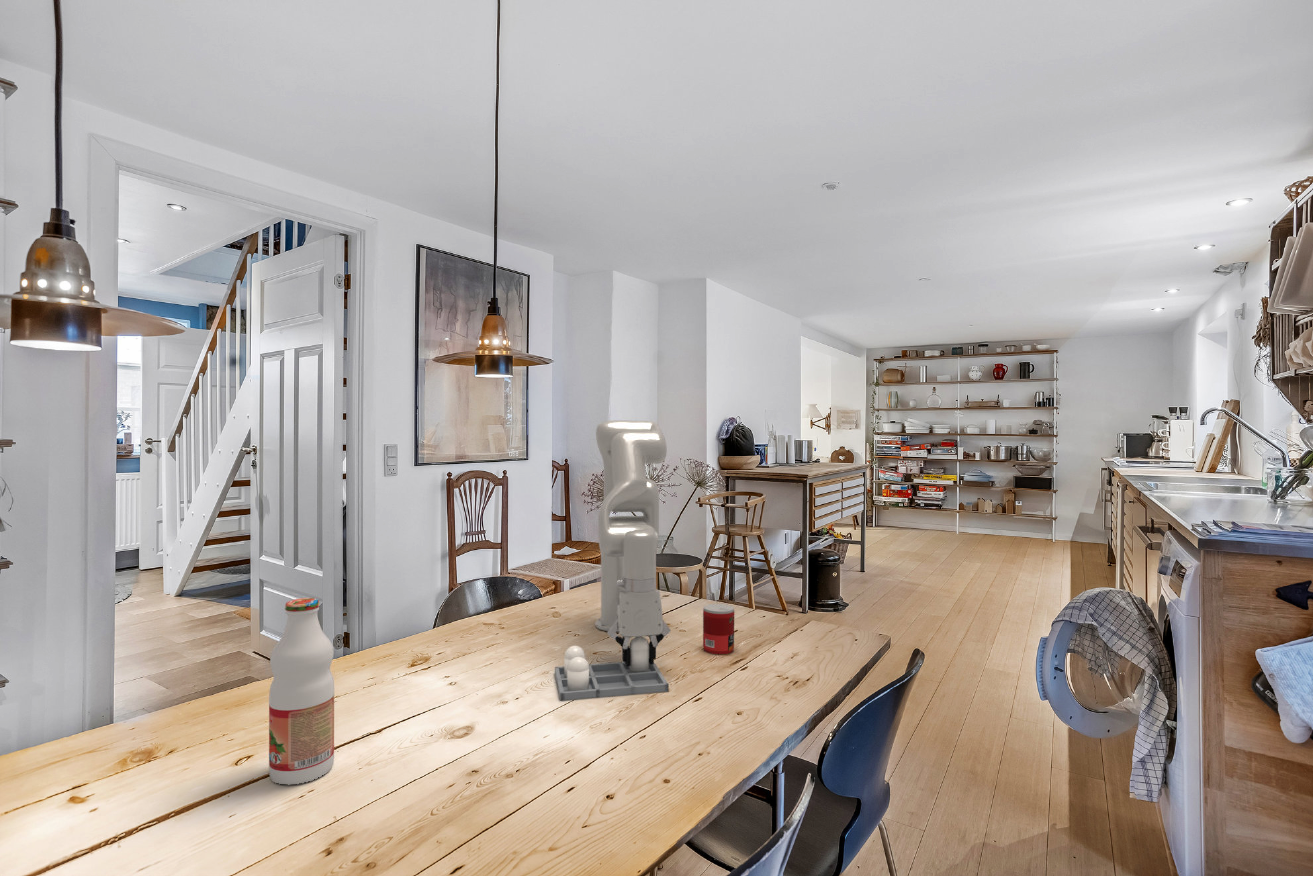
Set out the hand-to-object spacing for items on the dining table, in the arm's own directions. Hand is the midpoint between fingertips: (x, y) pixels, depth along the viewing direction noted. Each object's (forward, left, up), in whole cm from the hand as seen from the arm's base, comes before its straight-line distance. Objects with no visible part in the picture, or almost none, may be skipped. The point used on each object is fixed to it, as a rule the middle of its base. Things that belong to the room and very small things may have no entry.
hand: (639, 662), depth 150 cm
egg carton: (+4, -7, -3) cm, 9 cm away
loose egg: (0, 0, -1) cm, 1 cm away
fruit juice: (+30, -62, -3) cm, 69 cm away
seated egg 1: (0, -15, -2) cm, 15 cm away
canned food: (-13, +24, -3) cm, 27 cm away
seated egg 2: (+7, -15, -2) cm, 17 cm away
